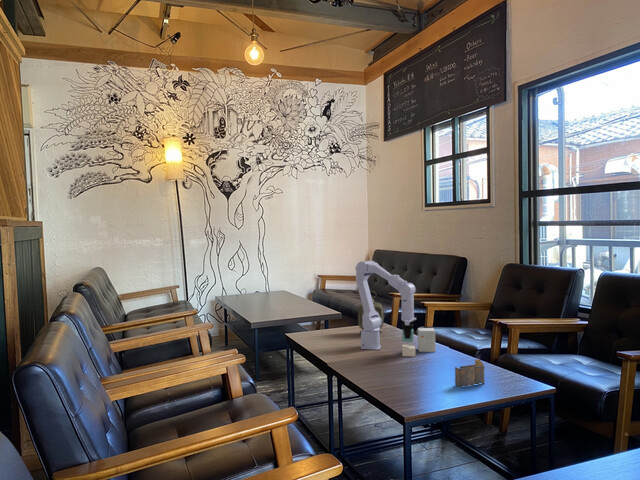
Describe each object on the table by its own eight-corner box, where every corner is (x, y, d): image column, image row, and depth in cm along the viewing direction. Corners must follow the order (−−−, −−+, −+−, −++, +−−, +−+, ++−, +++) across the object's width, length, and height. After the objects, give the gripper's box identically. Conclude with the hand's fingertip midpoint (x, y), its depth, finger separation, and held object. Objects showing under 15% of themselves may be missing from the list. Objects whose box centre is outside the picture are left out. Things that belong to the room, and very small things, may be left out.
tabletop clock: (383, 332, 261) (382, 289, 260) (384, 336, 252) (383, 292, 251) (358, 332, 262) (357, 289, 261) (357, 336, 253) (357, 291, 252)
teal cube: (402, 341, 215) (402, 331, 215) (402, 339, 220) (402, 328, 220) (413, 342, 214) (413, 331, 214) (413, 339, 219) (413, 329, 219)
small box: (433, 349, 226) (433, 328, 226) (435, 352, 221) (435, 330, 220) (417, 348, 227) (417, 327, 227) (418, 351, 221) (418, 330, 221)
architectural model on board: (479, 382, 179) (479, 358, 178) (484, 385, 176) (484, 360, 176) (454, 386, 175) (454, 361, 175) (459, 388, 172) (459, 363, 172)
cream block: (402, 356, 215) (402, 348, 215) (402, 352, 221) (402, 344, 221) (415, 356, 214) (415, 348, 214) (415, 353, 220) (414, 345, 220)
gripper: (415, 311, 208) (416, 341, 209) (416, 306, 222) (416, 333, 223) (400, 311, 210) (400, 340, 210) (401, 305, 224) (402, 333, 224)
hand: (407, 337), depth 217 cm, fingers closed on teal cube, 5 cm apart
